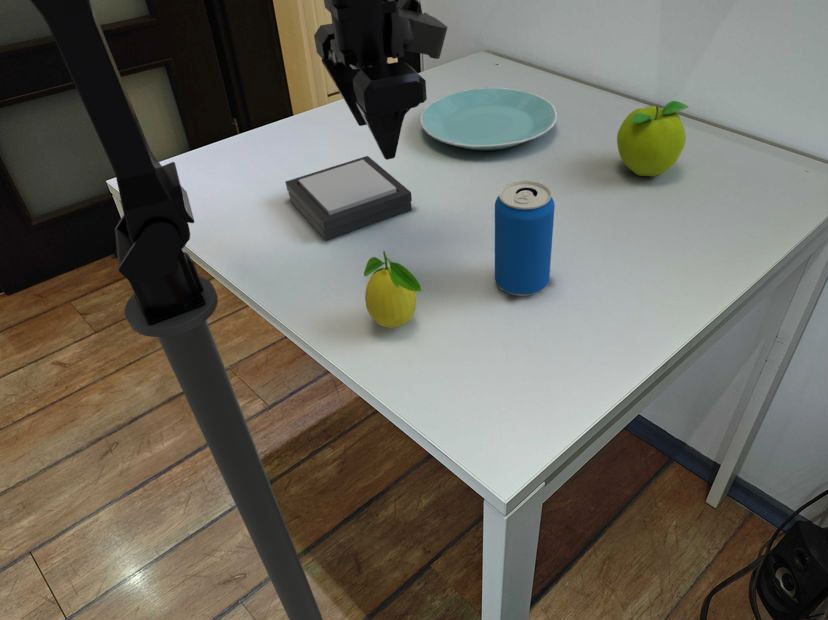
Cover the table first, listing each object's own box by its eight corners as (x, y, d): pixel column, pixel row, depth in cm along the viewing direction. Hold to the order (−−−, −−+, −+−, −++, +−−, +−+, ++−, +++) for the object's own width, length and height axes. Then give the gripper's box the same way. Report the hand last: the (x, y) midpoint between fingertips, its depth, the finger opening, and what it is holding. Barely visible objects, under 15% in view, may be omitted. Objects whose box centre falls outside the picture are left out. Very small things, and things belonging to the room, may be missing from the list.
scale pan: (330, 221, 87) (328, 211, 86) (300, 189, 93) (298, 179, 92) (397, 198, 91) (396, 187, 90) (364, 169, 97) (362, 159, 96)
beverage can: (554, 272, 81) (561, 183, 73) (541, 304, 76) (547, 213, 68) (503, 263, 83) (504, 175, 74) (487, 294, 78) (486, 204, 70)
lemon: (426, 340, 73) (419, 265, 66) (373, 348, 72) (360, 274, 65) (417, 302, 77) (409, 229, 71) (366, 310, 77) (354, 236, 70)
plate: (397, 149, 105) (395, 132, 103) (453, 95, 120) (452, 79, 118) (530, 172, 99) (531, 155, 97) (572, 112, 113) (573, 95, 112)
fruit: (691, 179, 96) (706, 112, 89) (634, 192, 94) (645, 124, 87) (656, 152, 102) (668, 87, 96) (602, 163, 100) (610, 97, 93)
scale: (327, 242, 87) (323, 222, 85) (289, 200, 95) (284, 181, 93) (413, 211, 92) (411, 191, 90) (370, 173, 100) (367, 155, 98)
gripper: (474, 0, 60) (476, 161, 70) (402, -46, 72) (413, 97, 83) (355, 19, 57) (376, 184, 67) (301, -32, 69) (326, 114, 80)
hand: (376, 140), depth 74 cm, fingers open, 9 cm apart
